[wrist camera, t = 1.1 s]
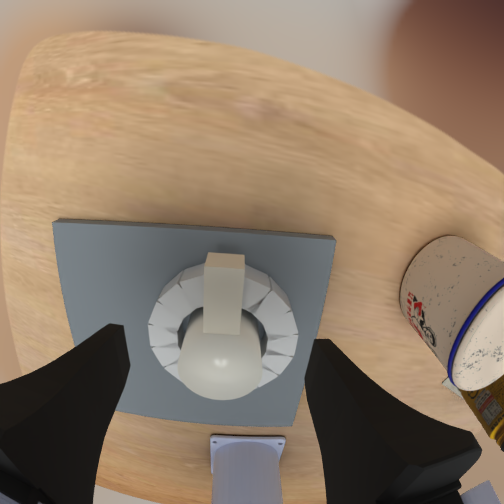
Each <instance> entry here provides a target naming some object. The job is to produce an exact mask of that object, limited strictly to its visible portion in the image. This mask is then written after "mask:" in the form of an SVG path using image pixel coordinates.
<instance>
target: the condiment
mask: <svg viewBox="0 0 504 504" xmlns="http://www.w3.org/2000/svg"><path fill="white" fill-rule="evenodd" d="M442 384H443V385H444V386H446V387H447V388H448V389H450V390H451V391H453V392H454V393H456V394H457V395H458V396H460V397H461V398H463V399H464V400H465V401H466V403H467V404H468V405H469V407H470V409H471V410H472V411H473V413H474V414H475V416H476V417H477V419H478V421H479V422H480V423H481V424H482V426H483V428H484V429H485V431H486V433H487V434H488V436H489V437H490V438H491V439H495V440H496V442H497V444H498V445H499V446H500V448H501V450H502V451H503V452H504V374H503V375H502V376H501V377H500V378H498V379H497V380H496V381H494V382H493V383H491V384H489V385H488V386H486V387H483V388H481V389H478V390H474V391H466V390H462V389H459V388H458V387H456V386H454V385H453V384H452V383H451V382H450V380H449V377H448V378H447V379H446V380H445V381H444V382H443V383H442Z"/></svg>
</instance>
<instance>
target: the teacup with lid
mask: <svg viewBox="0 0 504 504" xmlns="http://www.w3.org/2000/svg"><path fill="white" fill-rule="evenodd" d="M400 304H401V309H402V312H403V314H404V316H405V318H406V319H407V321H408V322H409V323H410V324H411V325H412V327H413V328H414V329H415V330H416V332H417V333H418V334H419V335H420V337H421V338H422V339H423V340H424V342H425V343H426V344H427V345H428V347H429V348H430V349H431V351H432V352H433V353H434V354H435V356H436V357H437V358H438V360H439V361H440V362H441V364H442V365H443V366H444V367H445V369H446V370H447V373H448V377H449V380H450V382H451V383H452V384H453V385H454V386H456V387H458V388H459V389H462V390H466V391H474V390H478V389H481V388H483V387H486V386H488V385H489V384H491V383H493V382H494V381H496V380H497V379H498V378H500V377H501V376H502V375H503V374H504V262H503V261H501V260H500V259H498V258H496V257H495V256H493V255H491V254H490V253H488V252H486V251H485V250H483V249H481V248H479V247H478V246H476V245H474V244H472V243H470V242H469V241H467V240H465V239H463V238H461V237H458V236H444V237H441V238H438V239H436V240H434V241H432V242H431V243H429V244H428V245H427V246H425V247H424V248H423V249H422V250H421V251H420V252H419V253H418V254H417V256H416V257H415V258H414V260H413V261H412V262H411V264H410V266H409V268H408V270H407V272H406V274H405V276H404V279H403V282H402V286H401V292H400Z"/></svg>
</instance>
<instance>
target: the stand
mask: <svg viewBox="0 0 504 504" xmlns="http://www.w3.org/2000/svg"><path fill="white" fill-rule="evenodd" d="M52 225H53V235H54V244H55V252H56V259H57V266H58V272H59V278H60V283H61V289H62V294H63V299H64V304H65V308H66V313H67V317H68V321H69V325H70V329H71V333H72V337H73V341H74V344H75V347H76V346H77V345H79V344H80V343H82V342H83V341H84V340H86V339H87V338H89V337H90V336H91V335H93V334H94V333H96V332H97V331H98V330H100V329H101V328H103V327H104V326H106V325H107V324H109V323H112V324H119V325H124V331H125V337H126V343H127V348H128V354H129V359H130V364H131V366H130V370H129V374H128V378H127V381H126V385H125V388H124V390H123V393H122V395H121V397H120V400H119V402H118V405H117V407H116V409H115V410H116V411H120V412H125V413H130V414H136V415H141V416H147V417H153V418H160V419H167V420H174V421H182V422H191V423H201V424H213V425H228V426H256V427H282V426H292V424H293V421H294V418H295V415H296V411H297V408H298V404H299V401H300V398H301V394H302V391H303V387H304V383H305V380H304V377H305V373H306V369H307V365H308V362H309V358H310V354H311V350H312V346H313V341H314V339H316V337H317V333H318V329H319V324H320V320H321V316H322V311H323V307H324V302H325V297H326V293H327V288H328V283H329V278H330V273H331V268H332V262H333V257H334V252H335V246H336V239H335V238H334V237H333V236H327V235H316V234H304V233H291V232H279V231H266V230H253V229H239V228H224V227H209V226H194V225H178V224H160V223H142V222H122V221H101V220H77V219H58V220H56V221H54V222H52ZM208 252H211V253H226V254H240V255H244V256H245V273H244V285H243V297H242V309H244V310H247V311H249V312H251V313H252V314H253V315H254V316H255V317H256V318H257V320H258V327H259V338H260V349H261V360H262V378H261V381H260V383H259V384H258V386H257V387H256V388H255V389H254V390H253V391H252V392H250V393H249V394H247V395H245V396H243V397H240V398H236V399H232V400H214V399H209V398H205V397H203V396H200V395H198V394H196V393H194V392H193V391H191V390H190V389H189V388H187V387H186V386H185V384H184V383H183V382H182V381H181V379H180V377H179V374H178V370H177V365H178V360H179V356H180V352H181V348H182V344H183V341H184V337H185V333H186V329H187V326H188V322H189V318H190V315H191V313H192V311H194V310H195V309H196V308H200V307H203V299H204V265H205V262H206V259H207V255H208Z"/></svg>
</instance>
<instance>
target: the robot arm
mask: <svg viewBox="0 0 504 504" xmlns="http://www.w3.org/2000/svg"><path fill="white" fill-rule="evenodd" d="M130 366H131V364H130V359H129V354H128V348H127V343H126V337H125V331H124V325H119V324H112V323H109V324H107V325H106V326H104V327H103V328H101V329H100V330H98V331H97V332H96V333H94V334H93V335H91V336H90V337H89V338H87V339H86V340H84V341H83V342H82V343H80V344H79V345H77V346H76V347H74V348H73V349H71V350H70V351H68V352H67V353H65V354H64V355H62V356H60V357H59V358H57V359H56V360H54V361H52V362H51V363H49V364H47V365H45V366H43V367H41V368H39V369H37V370H35V371H33V372H31V373H29V374H27V375H24V376H22V377H19V378H17V379H14V380H12V381H9V382H6V383H2V384H0V504H93V495H94V487H95V480H96V474H97V468H98V463H99V458H100V454H101V449H102V445H103V441H104V438H105V435H106V432H107V429H108V426H109V424H110V421H111V419H112V416H113V414H114V412H115V409H116V407H117V405H118V402H119V400H120V397H121V395H122V393H123V390H124V388H125V385H126V381H127V378H128V374H129V370H130ZM304 380H305V389H306V396H307V402H308V405H309V409H310V413H311V417H312V420H313V424H314V427H315V431H316V435H317V438H318V442H319V446H320V450H321V455H322V462H323V469H324V478H325V487H326V499H327V504H501V503H500V501H499V499H498V497H497V495H496V493H495V491H494V489H493V487H492V486H491V483H490V481H489V480H487V481H485V482H483V483H481V484H479V485H478V486H476V487H474V488H472V489H470V490H468V491H466V492H465V493H463V494H462V495H460V494H459V492H458V489H460V488H461V483H460V481H459V479H460V478H461V477H462V476H463V475H464V474H465V473H466V472H467V471H468V470H469V469H470V468H471V467H472V466H473V465H474V464H475V463H476V461H477V460H478V459H479V457H480V456H481V452H482V449H481V447H480V445H479V444H478V442H477V440H476V439H475V437H474V435H473V434H472V432H470V431H467V430H463V429H460V428H457V427H454V426H450V425H447V424H445V423H442V422H440V421H437V420H435V419H433V418H430V417H428V416H426V415H424V414H422V413H420V412H418V411H417V410H415V409H413V408H411V407H409V406H408V405H406V404H404V403H403V402H401V401H399V400H398V399H397V398H395V397H394V396H392V395H391V394H389V393H388V392H386V391H385V390H384V389H382V388H381V387H380V386H379V385H378V384H376V383H375V382H374V381H373V380H372V379H370V378H369V377H368V376H367V375H366V374H365V373H364V372H362V371H361V370H360V369H359V368H358V367H357V366H356V365H355V364H354V363H353V362H352V361H351V360H350V359H349V358H348V357H347V356H346V355H345V354H344V353H343V352H342V351H341V350H340V349H339V348H338V347H337V346H336V345H335V344H334V343H333V342H332V341H331V340H330V339H314V341H313V346H312V350H311V354H310V358H309V362H308V365H307V369H306V373H305V377H304ZM285 442H286V439H285V437H245V436H223V435H212V436H211V437H210V450H211V473H212V474H213V484H212V504H283V498H282V489H281V480H280V471H279V460H280V457H281V454H282V451H283V448H284V445H285Z"/></svg>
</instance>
